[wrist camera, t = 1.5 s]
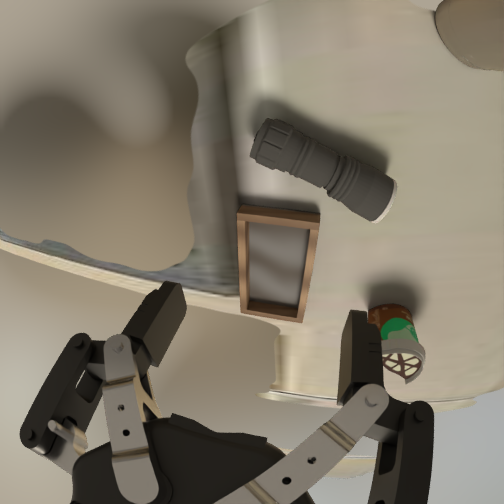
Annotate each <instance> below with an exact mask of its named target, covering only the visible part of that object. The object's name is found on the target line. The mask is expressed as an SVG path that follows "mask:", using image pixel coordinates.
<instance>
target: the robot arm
mask: <svg viewBox="0 0 504 504" xmlns="http://www.w3.org/2000/svg"><path fill="white" fill-rule="evenodd" d="M435 17H436V25H437V29H438V32H439V34H440V37H441V39H442V40H443V42H444V44H445V45H446V47H447V48H448V49H449V51H450V52H451V53H452V54H453V55H454V56H455V57H456V58H457V59H458V60H460V61H461V62H462V63H464V64H466V65H468V66H469V67H472V68H475V69H483V70H495V71H504V0H443V1H442V2H441V3H440V4H439V5H438V7H437V10H436V14H435ZM186 309H187V306H186V301H185V297H184V294H183V290H182V286H181V284H180V283H175V282H170V281H165V282H163V284H162V285H161V287H160V288H159V290H157V289H155V290H153V291H152V292H151V293H149V294H148V295H147V296H146V297H145V299H144V300H143V302H142V304H141V305H140V306H139V307H138V310H137V311H136V312H135V313H134V315H133V316H132V318H131V319H130V321H129V322H128V324H127V325H126V327H125V328H124V330H123V332H122V333H121V334H116V335H113V336H111V337H110V338H108V339H107V341H96V340H91V338H90V337H89V335H87V334H86V333H78V334H76V335H74V336H73V337H72V338H71V339H70V340H69V342H68V343H67V345H66V347H65V348H64V350H63V351H62V353H61V355H60V356H59V358H58V360H57V361H56V363H55V365H54V366H53V368H52V370H51V371H50V373H49V375H48V377H47V378H46V380H45V382H44V384H43V385H42V387H41V389H40V391H39V393H38V395H37V397H36V398H35V400H34V402H33V404H32V406H31V408H30V410H29V412H28V414H27V416H26V418H25V421H24V422H23V424H22V427H21V429H20V439H21V442H22V444H23V445H24V446H25V447H27V448H29V449H31V450H32V451H34V452H36V453H37V454H38V455H40V456H42V457H44V458H46V459H48V460H50V461H52V462H53V463H55V464H56V465H58V466H59V467H61V468H62V469H63V470H65V471H67V472H68V473H70V474H71V475H72V482H73V495H72V500H71V503H70V504H315V503H314V501H313V500H312V498H311V496H310V495H309V493H308V491H307V490H308V489H309V488H310V487H312V486H313V485H314V484H315V483H316V482H317V481H319V480H320V479H321V478H322V477H323V476H324V475H326V474H327V473H328V472H329V471H330V470H331V469H332V468H333V467H334V466H335V465H336V464H337V463H338V462H339V461H340V460H341V459H342V458H343V457H344V456H345V455H346V454H347V453H348V452H349V451H350V450H351V449H352V448H353V447H354V445H355V444H356V442H358V441H359V439H360V438H361V437H362V436H366V437H368V438H371V439H374V440H377V441H379V444H378V451H377V457H376V464H375V470H374V475H373V481H372V486H371V491H370V496H369V500H368V504H427V501H428V495H429V488H430V480H431V471H432V459H433V442H434V412H433V409H432V407H431V406H430V405H429V404H428V403H426V402H424V401H414V402H412V403H411V404H407V403H404V402H402V401H399V400H396V399H394V398H392V397H391V396H390V395H389V394H388V393H387V391H386V390H385V387H384V381H383V357H382V346H381V344H382V342H381V333H380V331H379V329H378V327H377V325H376V324H370V323H368V318H367V312H366V311H359V310H350V312H349V315H348V318H347V321H346V324H345V327H344V329H343V333H342V339H341V354H340V370H339V384H338V396H337V405H342V406H343V407H342V408H341V409H340V410H339V411H338V412H337V413H336V414H335V415H334V416H333V417H332V418H331V419H330V420H329V421H328V422H326V423H325V424H323V425H322V426H321V427H320V428H318V429H317V430H316V431H315V432H314V433H313V434H312V435H310V436H309V437H308V438H307V439H306V440H305V441H304V442H303V443H301V444H300V445H299V446H298V447H296V448H295V449H294V450H293V451H291V452H290V453H289V454H288V455H285V454H284V453H283V452H282V451H281V450H280V449H278V448H277V447H275V446H274V445H272V444H270V443H268V442H267V438H266V437H261V436H255V435H250V434H246V433H217V432H214V431H212V430H210V429H208V428H207V427H205V426H203V425H202V424H200V423H198V422H196V421H195V420H192V419H189V418H186V417H183V416H180V415H177V414H174V413H172V415H171V417H170V418H162V415H161V412H160V410H159V408H158V406H157V404H156V401H155V397H154V393H153V389H152V385H151V380H150V376H149V372H148V368H149V366H150V365H152V366H155V367H158V366H159V364H160V362H161V361H162V359H163V357H164V355H165V353H166V351H167V349H168V347H169V345H170V343H171V341H172V339H173V337H174V335H175V334H176V332H177V330H178V328H179V326H180V324H181V322H182V320H183V319H184V317H185V314H186ZM84 370H85V372H84V374H83V377H82V378H81V380H80V382H79V384H78V385H77V388H76V384H77V382H78V381H79V379H80V377H81V375H82V373H83V371H84ZM102 395H103V400H104V407H105V413H106V420H107V426H108V432H109V436H110V442H107V443H105V444H103V445H101V446H99V447H97V448H95V449H93V450H90V451H88V452H85V449H87V448H88V443H87V438H86V435H85V432H86V429H87V427H88V425H89V423H90V420H91V418H92V416H93V414H94V412H95V410H96V408H97V406H98V403H99V401H100V399H101V397H102Z"/></svg>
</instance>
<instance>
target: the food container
mask: <svg viewBox="0 0 504 504" xmlns="http://www.w3.org/2000/svg"><path fill="white" fill-rule="evenodd" d="M368 323H370V324H376V325H377V327H378V329H379V331H380V333H381V342H382V344H381V346H382V357H383V366H384V367H385V368H387V369H388V370H389V371H391V372H394V373H396V374H398V375H400V376H401V377H403V378H404V379H405V384H408V383H410V382H412V381H413V380H415V379H416V378H417V377H418V376H419V375H420V374H421V372H422V370H423V367H424V364H425V350H424V347H423V346H422V345H421V344H419V342H418V338H417V334H416V331H415V327H414V324H413V321H412V317H411V314H410V312H409V310H408V309H407V308H405V307H403V306H401V305H398V304H384V305H380V306H377V307H374V308H372V309H370V310H369V311H368Z"/></svg>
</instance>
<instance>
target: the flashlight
mask: <svg viewBox="0 0 504 504" xmlns="http://www.w3.org/2000/svg"><path fill="white" fill-rule="evenodd" d="M250 157H251V158H254V159H255V160H256V163H259V164H261V165H263V166H265V167H268V168H270V169H272V170H273V169H278V170H280V171H282V172H285V171H287V172H289V174H290V175H294V176H295V177H296V178H298V177H299V178H301V179H303V180H305V181H307V182H309V183H311V184H313V185H315V186H317V187H319V188H321V187H322V186H323V188H324V189H326V190H327V195H328V196H329V197H332V198H333V199H336V200H337V201H341V202H342V203H343V204H344V205H345V206H346V207H348V208H349V209H350V210H351V211H352V212H354V213H356V214H358V215H360V216H362V217H363V218H365V219H367V220H369V221H370V222H372V223H377V222H379V221H380V220H381V219H383V218H384V216H385V215H386V214H387V212H388V211H389V209H390V208H391V206H392V204H393V202H394V199H395V196H396V192H397V183H396V181H395V180H393V179H392V178H390V177H389V176H387V175H386V174H384V173H382V172H381V171H379V170H377V169H376V168H374V167H372V166H369V165H365V164H362V163H360V162H359V161H358V160H355V159H354V158H351V157H350V156H349V155H347V156H345V157H344V158H343V157H341V156H337V153H336V152H334V151H333V150H331V149H329V148H327V147H325V146H323V145H321V144H319V143H317V142H316V141H315V140H314V139H310V138H309V137H305V136H303V135H302V133H300V132H298V131H296V130H294V127H293V126H292V125H289V124H287V123H285V122H283V121H280V120H278V119H275V120H271V119H269V118H267V119H266V120H265V122H264V123H263V125H262V127H261V129H260V130H259V131H258V133H257V134H256V137H255V139H254V144H253V146H252V149H251V152H250Z"/></svg>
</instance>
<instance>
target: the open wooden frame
mask: <svg viewBox="0 0 504 504" xmlns="http://www.w3.org/2000/svg"><path fill="white" fill-rule="evenodd" d="M319 225H320V213H313V212H305V211H298V210H290V209H281V208H273V207H264V206H255V205H246V204H242V205H241V207H240V209H239V210H238V212H237V232H238V260H239V285H240V308H241V313H244V314H250V315H255V316H261V317H267V318H273V319H279V320H285V321H291V322H298V323H302V322H303V317H304V312H305V307H306V302H307V297H308V292H309V286H310V281H311V275H312V269H313V264H314V258H315V251H316V245H317V239H318V232H319Z"/></svg>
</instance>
